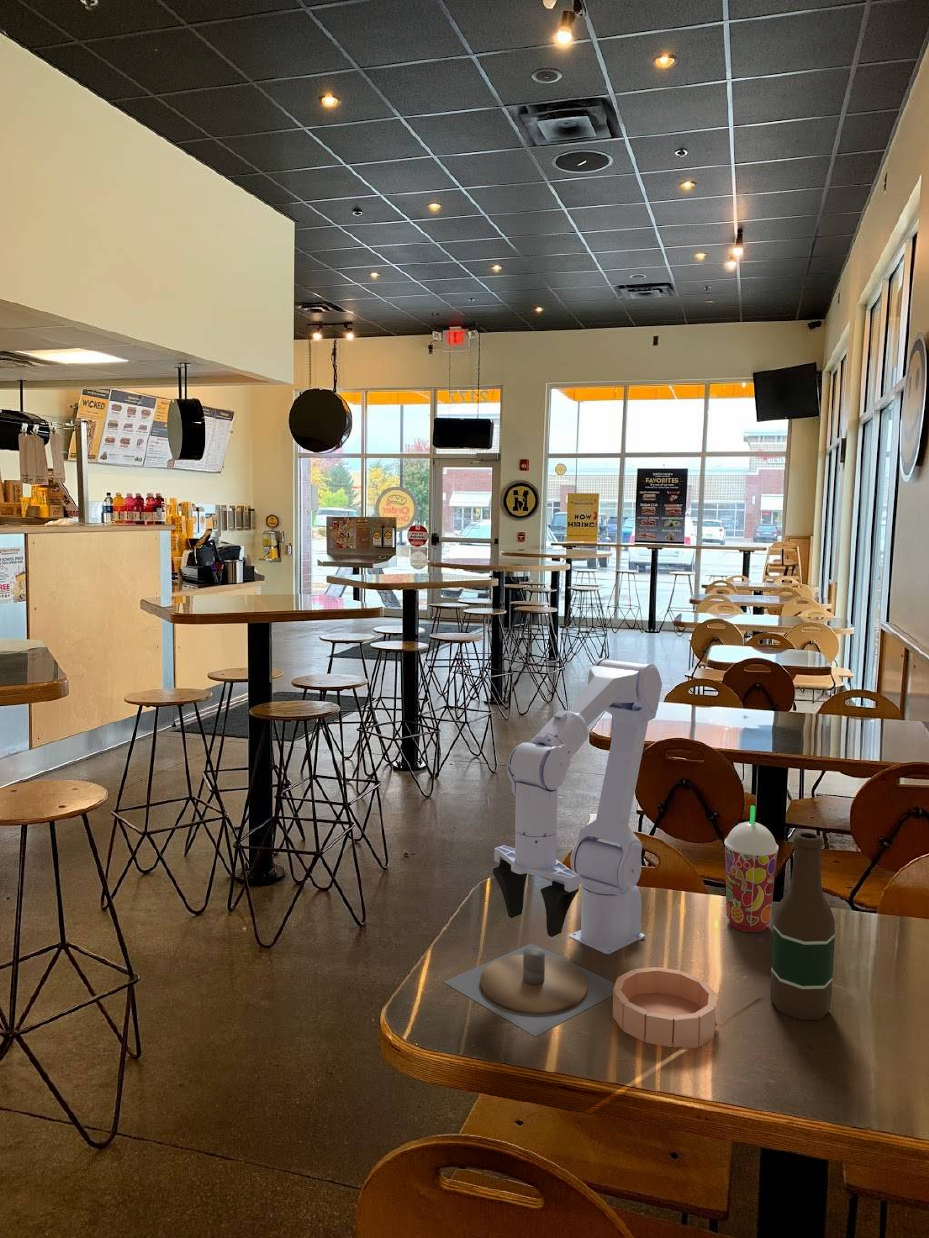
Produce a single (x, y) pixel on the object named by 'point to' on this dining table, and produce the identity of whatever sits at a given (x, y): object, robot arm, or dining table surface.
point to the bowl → (665, 1007)
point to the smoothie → (750, 875)
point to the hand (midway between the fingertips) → (534, 924)
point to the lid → (533, 983)
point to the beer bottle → (803, 938)
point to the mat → (532, 1022)
